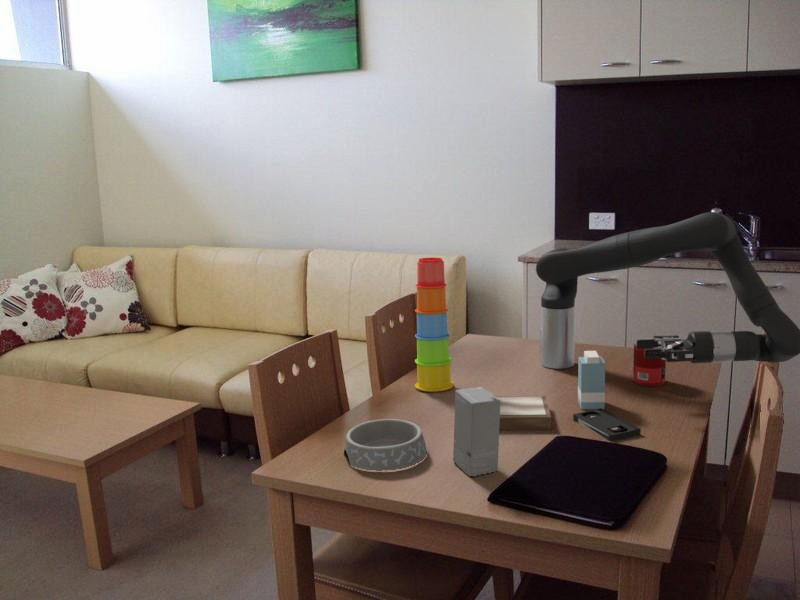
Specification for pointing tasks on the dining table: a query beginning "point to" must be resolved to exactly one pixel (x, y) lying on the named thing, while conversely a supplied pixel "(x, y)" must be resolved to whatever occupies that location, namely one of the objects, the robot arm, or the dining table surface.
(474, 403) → the skincare box
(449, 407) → the dining table surface
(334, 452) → the dining table surface
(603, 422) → the vhs tape
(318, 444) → the dining table surface
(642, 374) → the canned food
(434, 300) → the stacking cups
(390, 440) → the dog bowl
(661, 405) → the dining table surface
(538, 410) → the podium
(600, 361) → the carton
